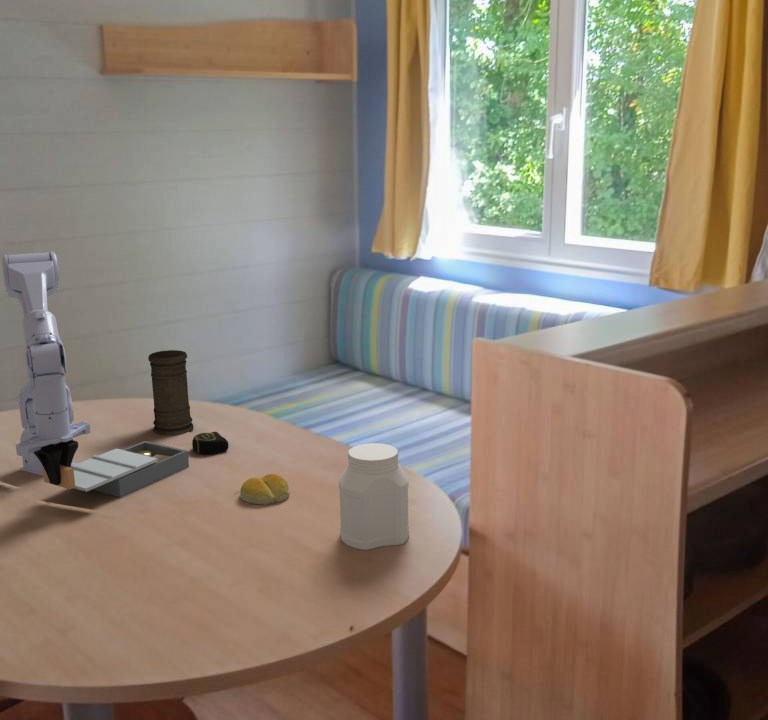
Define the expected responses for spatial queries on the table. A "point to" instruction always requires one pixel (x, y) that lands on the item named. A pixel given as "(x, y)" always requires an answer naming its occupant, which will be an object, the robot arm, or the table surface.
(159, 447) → the tub
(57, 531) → the table surface
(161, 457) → the walnut block
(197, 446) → the tape measure
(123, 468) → the lid
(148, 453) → the brass knob
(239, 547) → the table surface
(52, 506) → the table surface
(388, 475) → the jar
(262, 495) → the bread roll
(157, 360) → the container
